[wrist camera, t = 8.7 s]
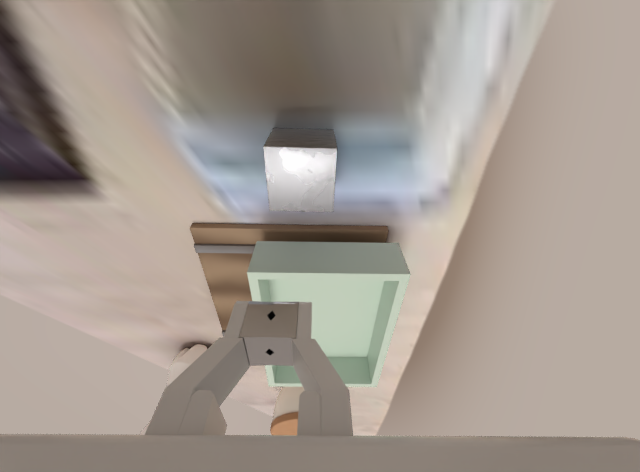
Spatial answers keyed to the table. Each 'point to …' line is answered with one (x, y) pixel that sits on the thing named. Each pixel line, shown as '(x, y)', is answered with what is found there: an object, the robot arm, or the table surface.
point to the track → (238, 245)
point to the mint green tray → (335, 300)
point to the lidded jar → (286, 411)
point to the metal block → (300, 169)
